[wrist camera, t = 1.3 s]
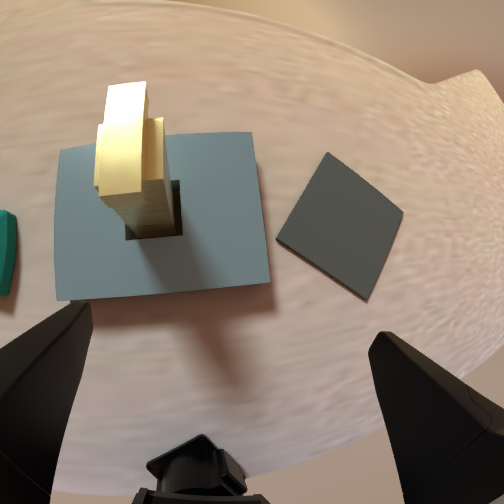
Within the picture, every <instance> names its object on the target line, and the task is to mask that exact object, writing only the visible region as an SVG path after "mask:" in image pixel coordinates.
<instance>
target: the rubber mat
mask: <svg viewBox="0 0 504 504" xmlns="http://www.w3.org/2000/svg"><path fill="white" fill-rule="evenodd" d="M403 213H404V212H403V211H402V210H400V209H399V208H398V207H397V206H396V205H395V204H393V203H392V202H391V201H390V200H389V199H388V198H386V197H385V196H384V195H383V194H382V193H380V192H379V191H378V190H377V189H376V188H374V187H373V186H372V185H371V184H369V183H368V182H367V181H366V180H364V179H363V178H362V177H361V176H359V175H358V174H357V173H355V172H354V171H353V170H351V169H350V168H349V167H348V166H346V165H345V164H344V163H342V162H341V161H340V160H338V159H337V158H335V157H334V156H333V155H331V154H330V153H329V152H327V153H326V154H325V156H324V158H323V159H322V161H321V163H320V164H319V166H318V168H317V170H316V171H315V173H314V175H313V176H312V178H311V180H310V182H309V183H308V185H307V187H306V188H305V190H304V192H303V193H302V195H301V197H300V199H299V200H298V202H297V204H296V205H295V207H294V209H293V210H292V212H291V214H290V216H289V217H288V219H287V221H286V222H285V224H284V226H283V227H282V229H281V231H280V232H279V234H278V236H277V237H276V240H278V241H279V242H281V243H282V244H284V245H285V246H287V247H288V248H290V249H291V250H293V251H294V252H296V253H297V254H299V255H300V256H302V257H303V258H305V259H306V260H308V261H309V262H311V263H312V264H314V265H315V266H317V267H318V268H320V269H321V270H323V271H324V272H326V273H327V274H329V275H330V276H331V277H333V278H334V279H336V280H337V281H339V282H340V283H342V284H343V285H345V286H346V287H348V288H349V289H351V290H352V291H353V292H355V293H356V294H358V295H359V296H361V297H362V298H364V299H366V300H367V299H368V297H369V295H370V293H371V291H372V288H373V286H374V284H375V282H376V280H377V277H378V275H379V273H380V271H381V268H382V266H383V264H384V261H385V259H386V256H387V254H388V252H389V249H390V247H391V244H392V242H393V239H394V237H395V234H396V232H397V229H398V226H399V224H400V221H401V218H402V216H403Z"/></svg>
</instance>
